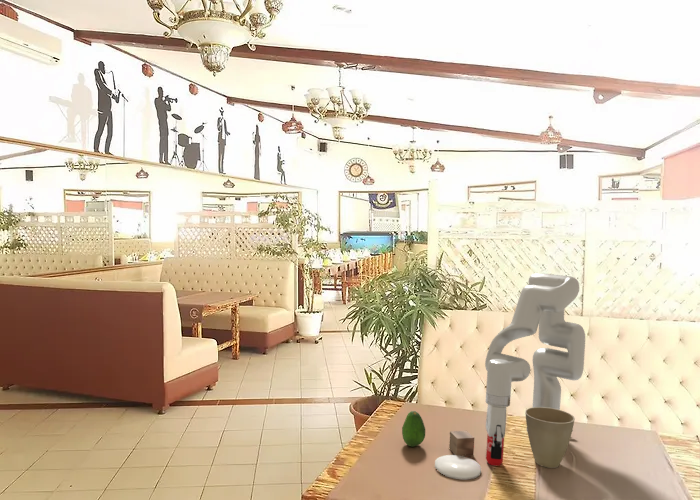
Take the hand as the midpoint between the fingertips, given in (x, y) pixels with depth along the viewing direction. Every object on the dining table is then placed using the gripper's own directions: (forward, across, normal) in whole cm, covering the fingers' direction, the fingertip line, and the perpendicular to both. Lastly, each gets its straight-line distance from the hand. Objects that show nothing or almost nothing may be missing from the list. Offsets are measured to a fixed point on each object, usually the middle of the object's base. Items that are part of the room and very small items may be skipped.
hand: (494, 454), depth 170 cm
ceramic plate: (+3, +7, -12) cm, 14 cm away
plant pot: (+3, -4, +17) cm, 18 cm away
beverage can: (+3, 0, 0) cm, 3 cm away
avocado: (+3, -7, -26) cm, 27 cm away
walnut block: (+3, -6, -10) cm, 12 cm away
